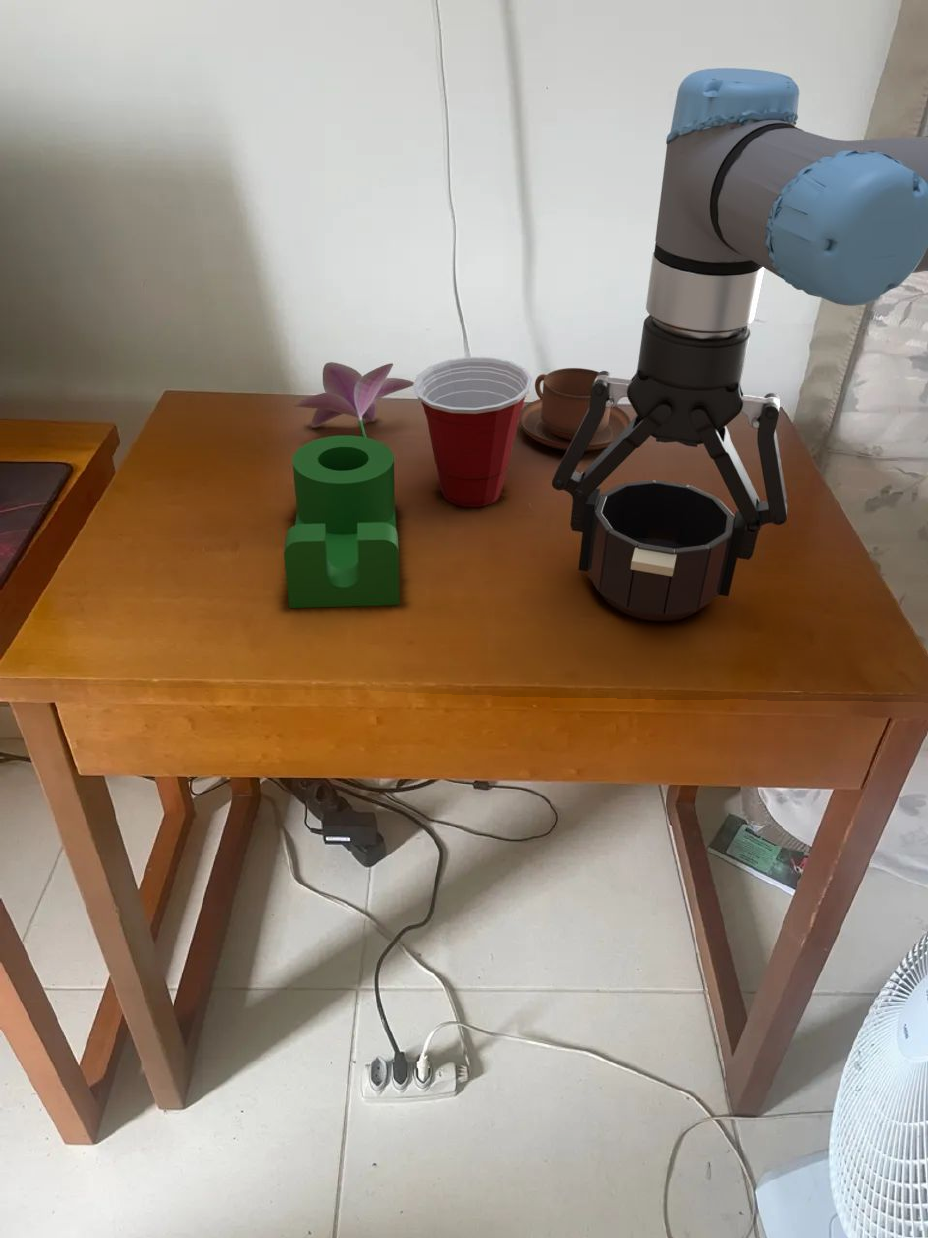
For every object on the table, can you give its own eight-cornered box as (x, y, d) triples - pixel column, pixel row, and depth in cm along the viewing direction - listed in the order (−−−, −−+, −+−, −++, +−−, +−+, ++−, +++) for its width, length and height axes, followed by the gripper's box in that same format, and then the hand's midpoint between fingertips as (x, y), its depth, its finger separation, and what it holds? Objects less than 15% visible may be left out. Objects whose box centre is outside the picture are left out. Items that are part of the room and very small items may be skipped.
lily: (432, 436, 108) (409, 349, 106) (412, 444, 96) (386, 345, 94) (329, 463, 110) (305, 378, 108) (299, 473, 98) (271, 378, 96)
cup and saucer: (498, 443, 104) (501, 389, 101) (547, 402, 113) (551, 351, 109) (602, 472, 100) (609, 416, 96) (645, 427, 108) (653, 374, 105)
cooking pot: (600, 531, 88) (607, 471, 85) (724, 552, 86) (737, 492, 82) (573, 612, 78) (580, 549, 75) (713, 638, 76) (727, 574, 72)
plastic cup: (396, 478, 98) (394, 363, 91) (494, 458, 102) (499, 347, 94) (440, 532, 90) (442, 411, 83) (544, 508, 94) (554, 391, 87)
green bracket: (300, 496, 95) (295, 436, 91) (393, 494, 95) (392, 434, 91) (289, 608, 80) (282, 541, 76) (399, 604, 81) (398, 539, 77)
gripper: (868, 321, 70) (797, 574, 83) (546, 283, 75) (528, 528, 88) (874, 360, 64) (797, 625, 78) (524, 317, 69) (508, 574, 82)
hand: (654, 574), depth 83 cm, fingers closed on cooking pot, 11 cm apart
